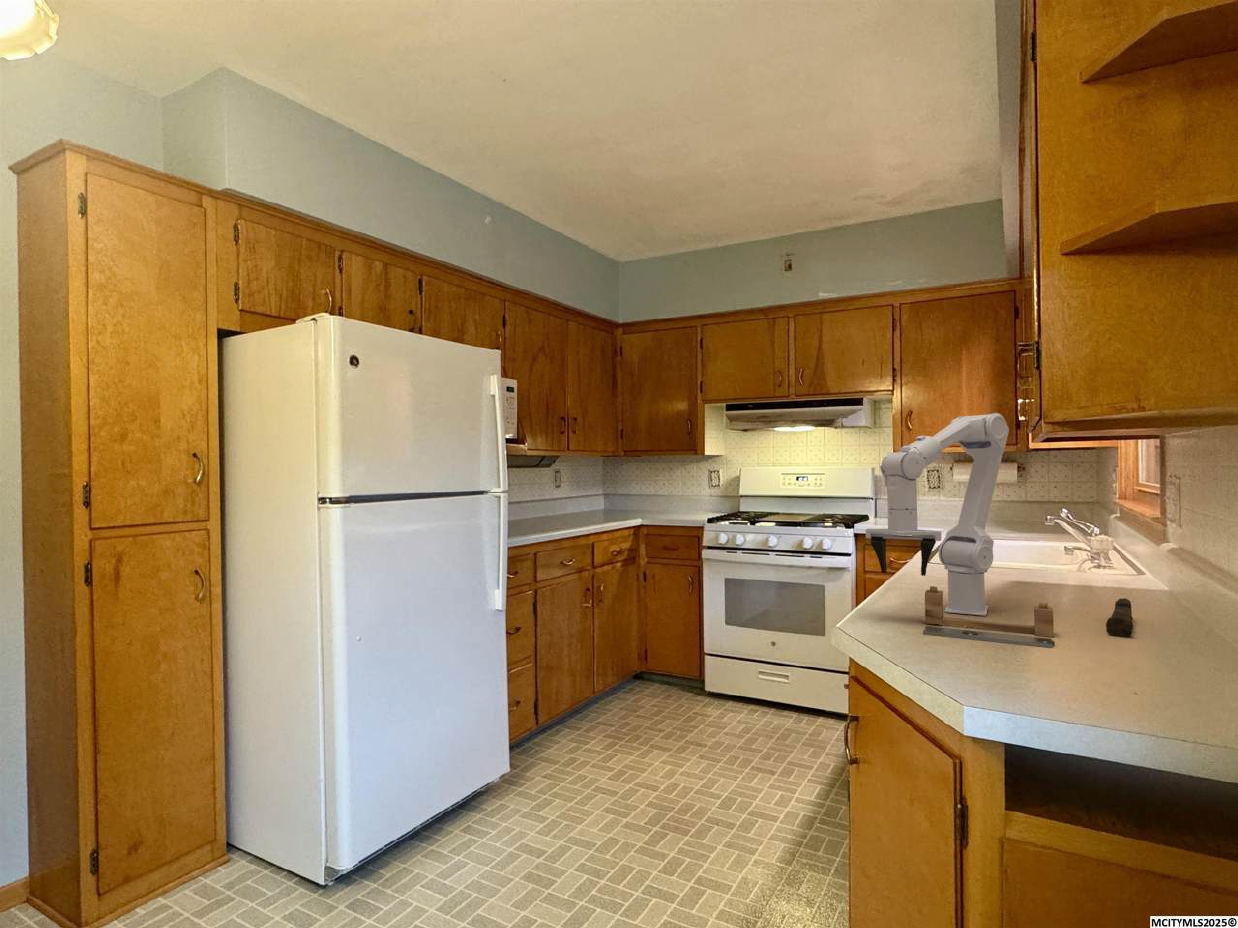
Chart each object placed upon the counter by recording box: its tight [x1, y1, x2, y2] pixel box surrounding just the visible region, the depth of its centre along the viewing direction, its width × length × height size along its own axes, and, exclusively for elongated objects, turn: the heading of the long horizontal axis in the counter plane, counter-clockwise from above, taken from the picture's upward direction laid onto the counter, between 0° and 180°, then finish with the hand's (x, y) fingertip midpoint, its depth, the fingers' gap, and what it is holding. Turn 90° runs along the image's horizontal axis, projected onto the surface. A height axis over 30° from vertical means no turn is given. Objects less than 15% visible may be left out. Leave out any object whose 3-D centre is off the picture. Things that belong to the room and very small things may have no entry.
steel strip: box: [922, 625, 1056, 649], centre depth 124 cm, size 4×21×1 cm, turn 59°
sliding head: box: [924, 585, 944, 626], centre depth 136 cm, size 4×3×7 cm
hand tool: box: [1105, 597, 1134, 638], centre depth 130 cm, size 19×4×5 cm, turn 138°
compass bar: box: [942, 601, 1055, 638], centre depth 131 cm, size 4×22×6 cm, turn 59°
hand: (903, 573), depth 139 cm, fingers open, 7 cm apart
